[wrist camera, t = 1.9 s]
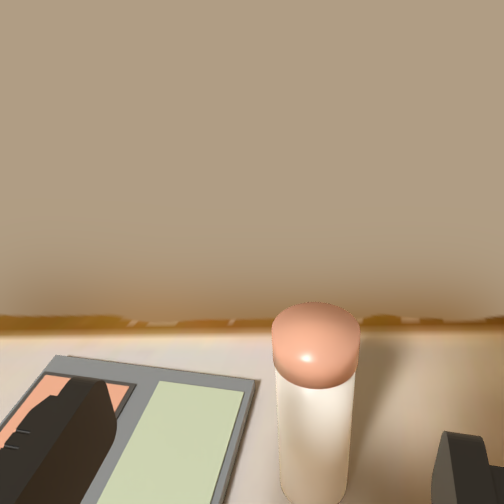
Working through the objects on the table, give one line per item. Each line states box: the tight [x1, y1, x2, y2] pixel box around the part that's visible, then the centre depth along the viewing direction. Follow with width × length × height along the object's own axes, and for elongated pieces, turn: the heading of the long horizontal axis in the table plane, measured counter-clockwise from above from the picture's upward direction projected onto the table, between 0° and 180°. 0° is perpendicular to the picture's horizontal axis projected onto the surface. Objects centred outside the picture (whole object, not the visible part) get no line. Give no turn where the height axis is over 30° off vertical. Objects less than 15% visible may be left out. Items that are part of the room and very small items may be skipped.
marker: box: [272, 302, 360, 504], centre depth 28 cm, size 5×5×13 cm
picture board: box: [0, 355, 255, 504], centre depth 34 cm, size 18×14×1 cm
